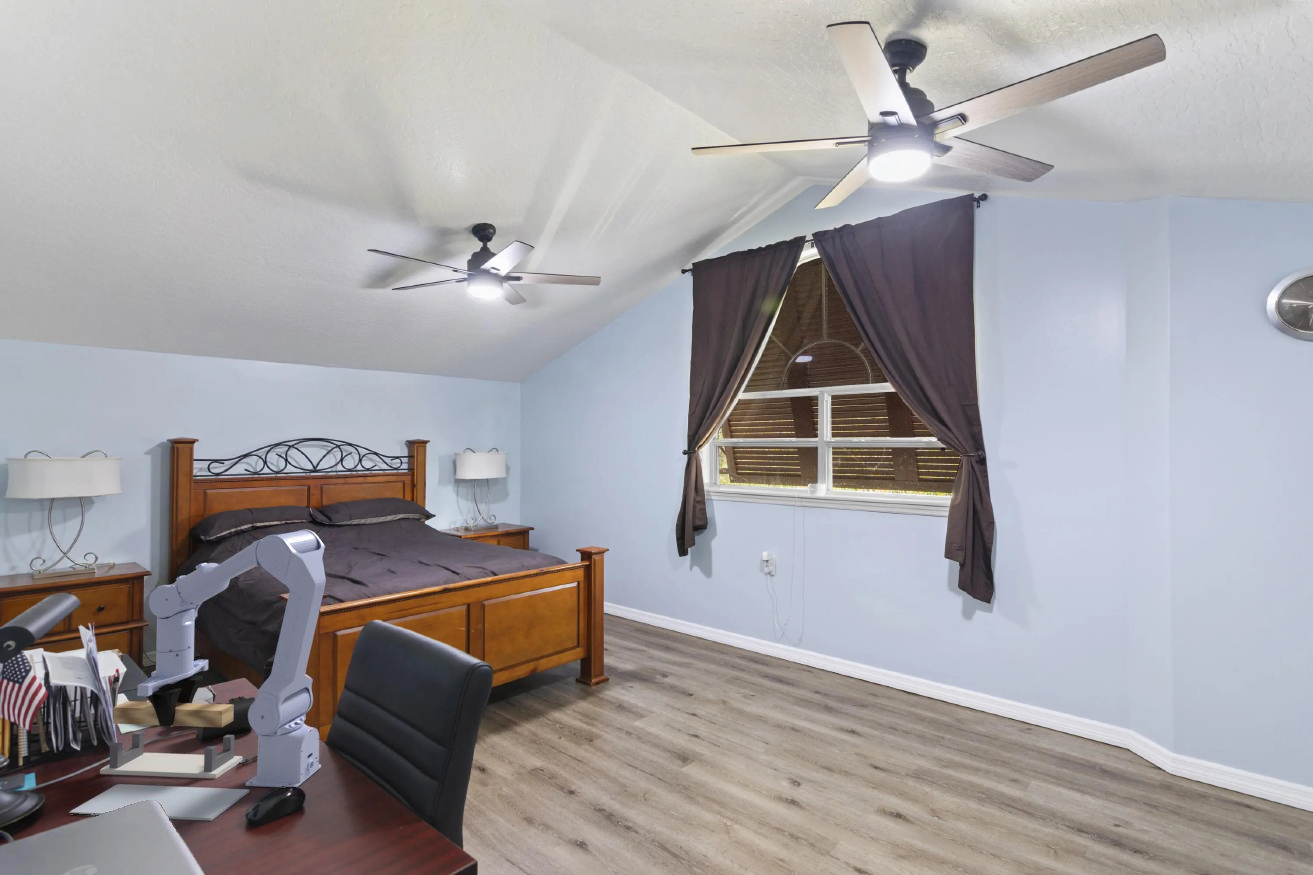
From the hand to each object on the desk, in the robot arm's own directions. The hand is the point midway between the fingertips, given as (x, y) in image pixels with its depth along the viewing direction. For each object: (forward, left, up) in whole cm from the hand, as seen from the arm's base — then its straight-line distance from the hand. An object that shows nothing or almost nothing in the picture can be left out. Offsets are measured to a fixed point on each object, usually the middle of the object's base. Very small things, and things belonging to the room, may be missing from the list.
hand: (173, 721), depth 124 cm
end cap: (0, -14, -9) cm, 16 cm away
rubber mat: (-8, +12, -8) cm, 17 cm away
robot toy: (+14, -22, -9) cm, 27 cm away
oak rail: (0, 0, 0) cm, 0 cm away
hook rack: (0, 0, -8) cm, 8 cm away
